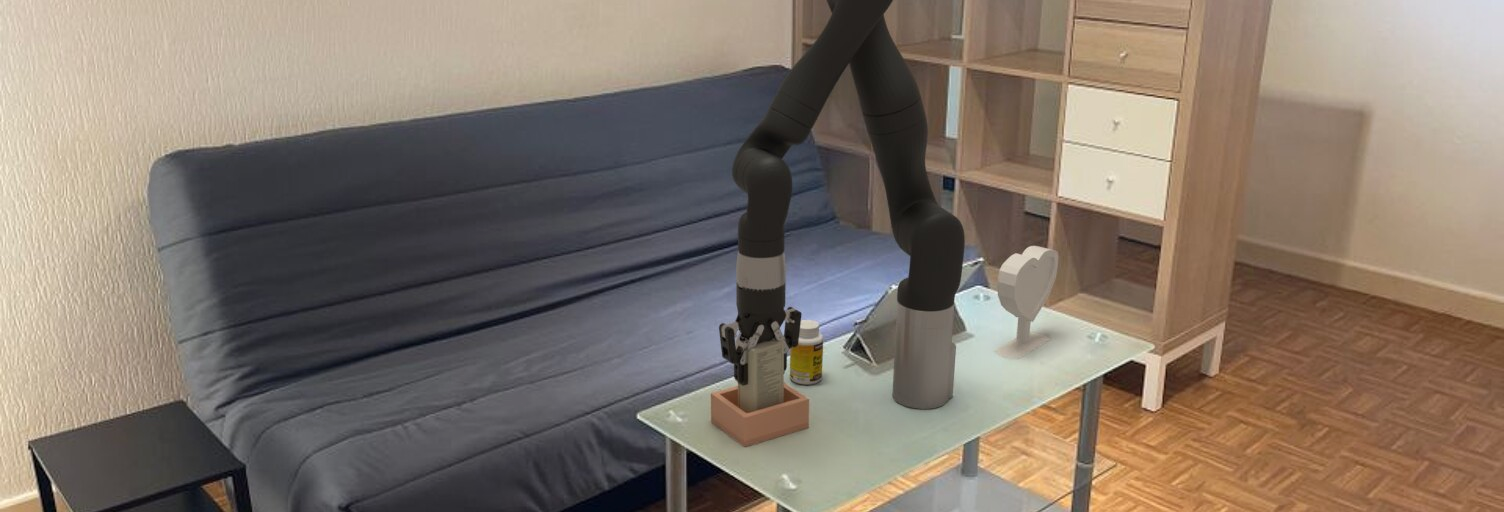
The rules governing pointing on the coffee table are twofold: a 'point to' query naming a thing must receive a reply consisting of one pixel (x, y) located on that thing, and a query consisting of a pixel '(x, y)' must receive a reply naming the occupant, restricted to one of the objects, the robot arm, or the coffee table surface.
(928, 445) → the coffee table surface
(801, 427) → the box
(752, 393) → the skincare box
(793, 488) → the coffee table surface
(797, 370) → the supplement bottle
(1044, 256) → the heart sculpture
